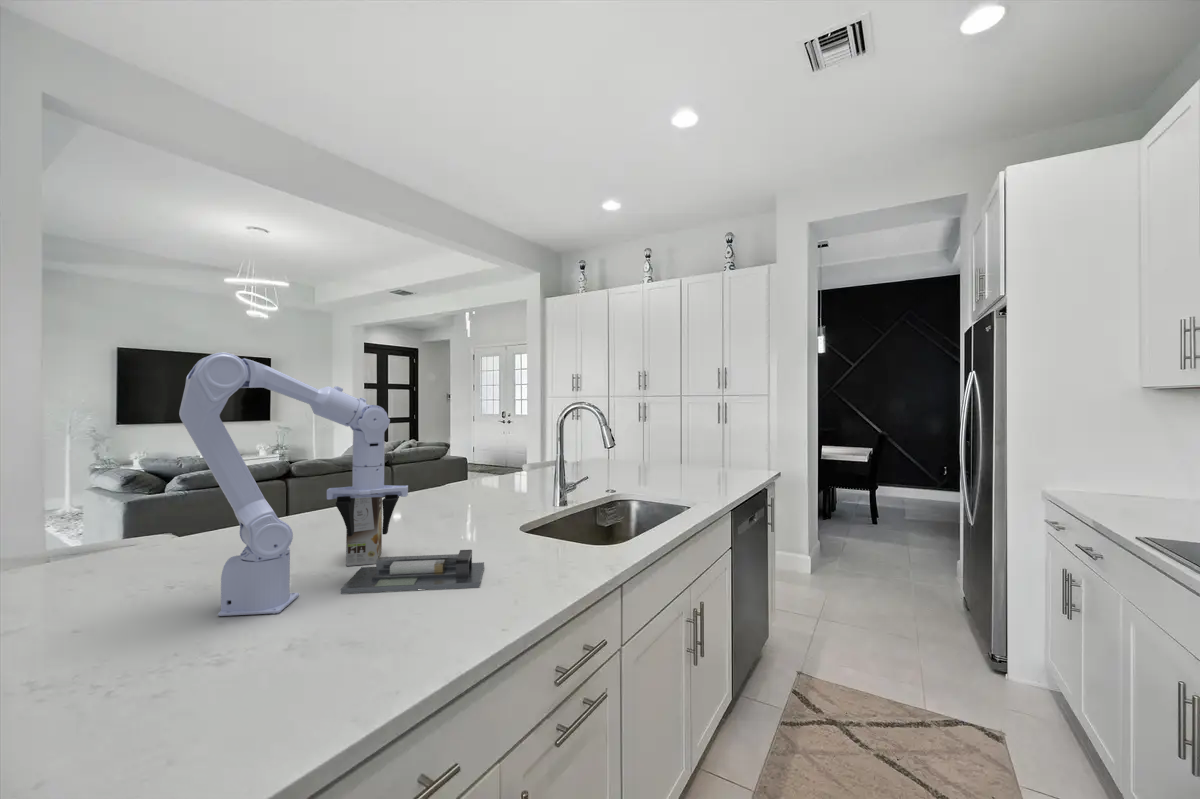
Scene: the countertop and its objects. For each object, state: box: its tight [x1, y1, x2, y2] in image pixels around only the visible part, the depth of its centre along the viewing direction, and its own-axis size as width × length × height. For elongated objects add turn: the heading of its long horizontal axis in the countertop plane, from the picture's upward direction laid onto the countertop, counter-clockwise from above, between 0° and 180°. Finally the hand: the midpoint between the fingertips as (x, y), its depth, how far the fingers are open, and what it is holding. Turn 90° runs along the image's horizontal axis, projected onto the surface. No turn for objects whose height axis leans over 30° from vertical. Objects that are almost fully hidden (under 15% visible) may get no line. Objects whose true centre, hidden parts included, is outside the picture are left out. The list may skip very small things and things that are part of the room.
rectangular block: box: [390, 560, 445, 576], centre depth 102 cm, size 10×3×2 cm, turn 99°
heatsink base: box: [340, 549, 485, 595], centre depth 102 cm, size 25×12×5 cm, turn 98°
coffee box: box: [345, 493, 383, 567], centre depth 114 cm, size 9×6×16 cm
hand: (368, 534), depth 100 cm, fingers open, 6 cm apart
